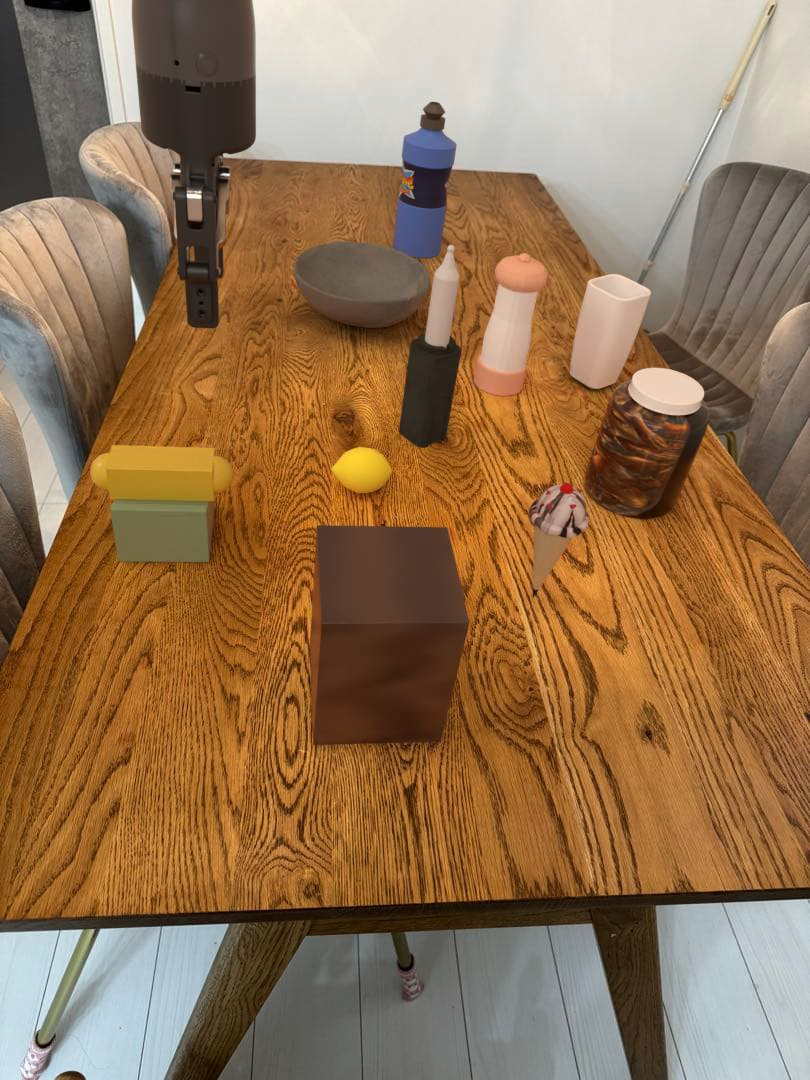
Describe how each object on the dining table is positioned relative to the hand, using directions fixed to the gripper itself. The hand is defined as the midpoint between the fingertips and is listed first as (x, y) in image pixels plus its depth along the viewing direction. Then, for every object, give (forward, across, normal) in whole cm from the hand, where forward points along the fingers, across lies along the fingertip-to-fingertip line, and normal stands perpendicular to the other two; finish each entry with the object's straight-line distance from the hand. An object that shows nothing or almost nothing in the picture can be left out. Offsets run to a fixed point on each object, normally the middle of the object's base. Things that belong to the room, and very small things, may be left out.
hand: (206, 300), depth 63 cm
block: (+30, -7, -6) cm, 31 cm away
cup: (+30, -43, +53) cm, 74 cm away
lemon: (+30, -15, +16) cm, 37 cm away
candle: (+30, -27, +25) cm, 47 cm away
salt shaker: (+30, -41, +38) cm, 63 cm away
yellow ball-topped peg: (+24, -7, -6) cm, 25 cm away
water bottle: (+30, -90, +33) cm, 100 cm away
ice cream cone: (+30, +3, +32) cm, 44 cm away
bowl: (+30, -60, +19) cm, 70 cm away
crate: (+30, +15, +14) cm, 36 cm away
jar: (+30, -16, +50) cm, 60 cm away
